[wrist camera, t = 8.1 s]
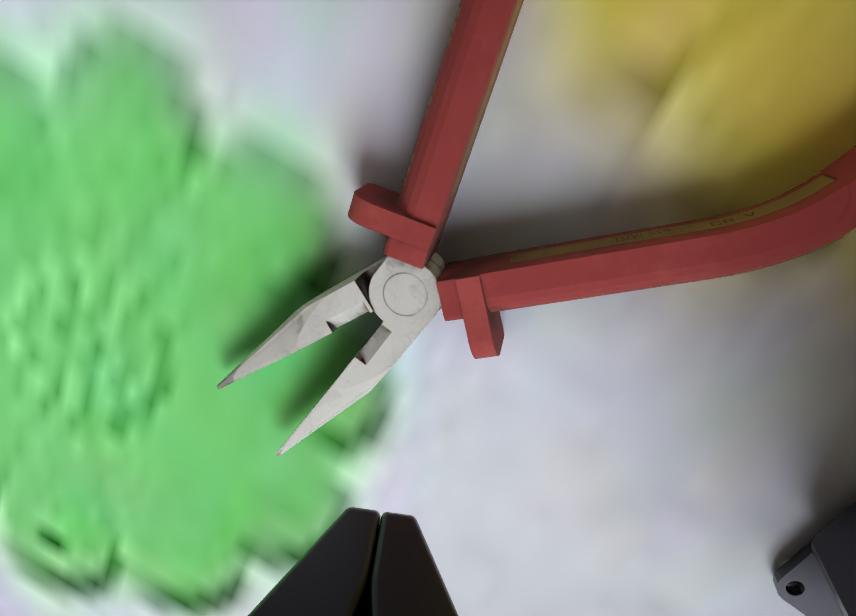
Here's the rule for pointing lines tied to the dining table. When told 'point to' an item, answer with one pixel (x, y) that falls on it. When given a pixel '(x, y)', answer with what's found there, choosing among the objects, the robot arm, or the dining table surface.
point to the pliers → (524, 269)
